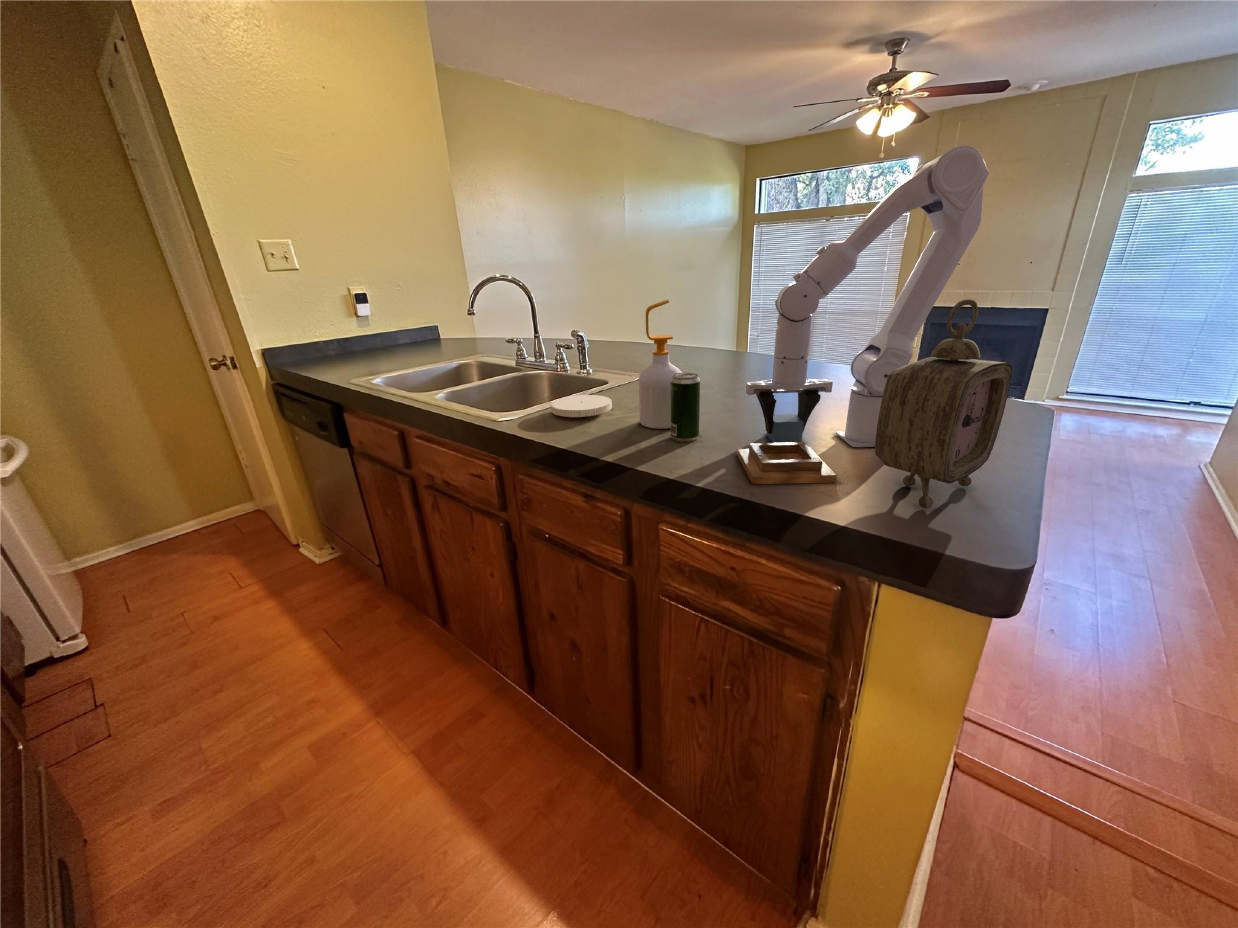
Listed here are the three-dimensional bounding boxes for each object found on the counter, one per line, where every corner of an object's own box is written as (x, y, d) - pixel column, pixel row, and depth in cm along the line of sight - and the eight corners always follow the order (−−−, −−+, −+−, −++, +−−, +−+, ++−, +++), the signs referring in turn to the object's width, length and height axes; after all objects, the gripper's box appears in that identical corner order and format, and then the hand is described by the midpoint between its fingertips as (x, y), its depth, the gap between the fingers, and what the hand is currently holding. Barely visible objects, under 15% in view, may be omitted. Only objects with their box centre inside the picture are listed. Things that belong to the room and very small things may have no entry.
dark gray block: (793, 434, 90) (795, 413, 89) (801, 442, 86) (803, 421, 84) (766, 435, 90) (768, 414, 89) (773, 443, 86) (775, 422, 84)
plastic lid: (569, 403, 119) (568, 393, 118) (621, 407, 114) (620, 396, 113) (540, 419, 107) (539, 408, 106) (596, 423, 102) (595, 412, 101)
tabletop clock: (931, 517, 59) (979, 304, 49) (861, 493, 66) (892, 302, 56) (984, 487, 66) (1034, 296, 57) (915, 468, 73) (950, 295, 64)
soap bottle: (685, 428, 96) (687, 300, 87) (640, 430, 96) (637, 302, 87) (680, 416, 104) (681, 298, 95) (639, 418, 105) (636, 300, 96)
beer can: (683, 444, 87) (683, 379, 83) (664, 437, 92) (664, 375, 87) (705, 438, 90) (706, 375, 86) (686, 431, 94) (686, 371, 90)
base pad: (808, 453, 80) (810, 438, 79) (835, 482, 69) (838, 465, 68) (737, 455, 81) (737, 440, 80) (752, 484, 70) (753, 467, 69)
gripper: (825, 351, 86) (817, 424, 91) (744, 354, 87) (740, 426, 92) (840, 358, 79) (831, 435, 84) (752, 361, 80) (748, 437, 85)
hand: (784, 431), depth 87 cm, fingers closed on dark gray block, 5 cm apart
